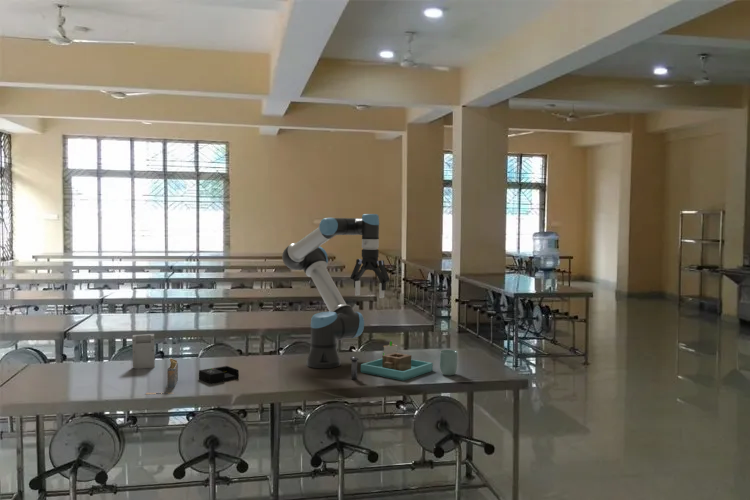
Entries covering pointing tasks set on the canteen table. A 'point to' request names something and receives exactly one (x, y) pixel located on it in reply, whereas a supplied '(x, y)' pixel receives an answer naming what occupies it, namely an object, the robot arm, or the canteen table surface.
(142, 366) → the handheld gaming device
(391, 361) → the wooden box
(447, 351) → the cup
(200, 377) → the battery charger
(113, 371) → the canteen table surface
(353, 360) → the stake
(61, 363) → the canteen table surface
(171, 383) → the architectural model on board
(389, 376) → the tray
